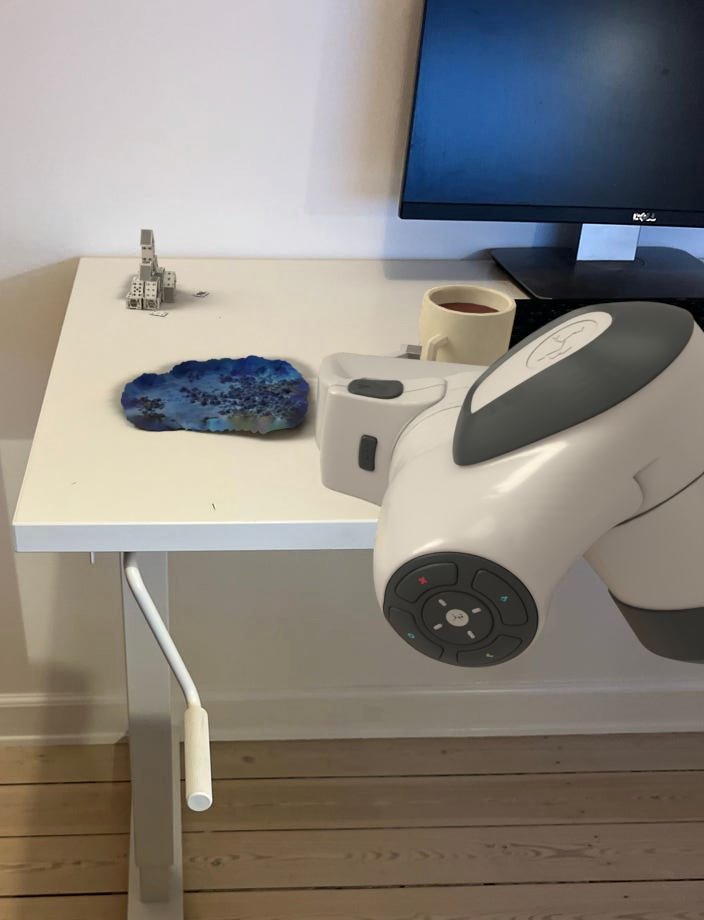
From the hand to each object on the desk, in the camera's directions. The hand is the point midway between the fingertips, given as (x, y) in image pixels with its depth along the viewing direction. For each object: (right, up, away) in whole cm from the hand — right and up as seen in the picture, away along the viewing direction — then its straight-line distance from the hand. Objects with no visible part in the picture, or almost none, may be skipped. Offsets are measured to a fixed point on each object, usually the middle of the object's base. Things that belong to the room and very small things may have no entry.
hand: (480, 361), depth 67 cm
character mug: (+1, -3, +17) cm, 17 cm away
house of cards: (-24, +20, +46) cm, 56 cm away
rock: (-18, +3, +25) cm, 31 cm away
